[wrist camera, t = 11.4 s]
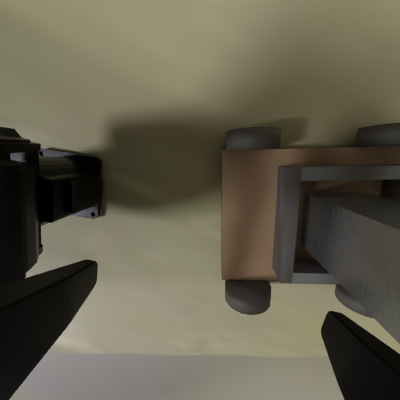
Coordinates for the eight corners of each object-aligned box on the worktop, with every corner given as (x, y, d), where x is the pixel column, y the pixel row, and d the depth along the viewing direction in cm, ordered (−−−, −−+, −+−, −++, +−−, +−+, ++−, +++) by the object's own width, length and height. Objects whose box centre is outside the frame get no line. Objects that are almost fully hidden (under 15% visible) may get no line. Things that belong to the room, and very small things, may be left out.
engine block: (300, 243, 19) (476, 420, 6) (305, 192, 18) (529, 281, 5) (355, 244, 19) (659, 433, 6) (363, 192, 17) (757, 286, 5)
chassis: (221, 283, 22) (223, 313, 18) (221, 135, 19) (223, 128, 14) (371, 286, 21) (412, 320, 17) (401, 129, 18) (461, 120, 13)
